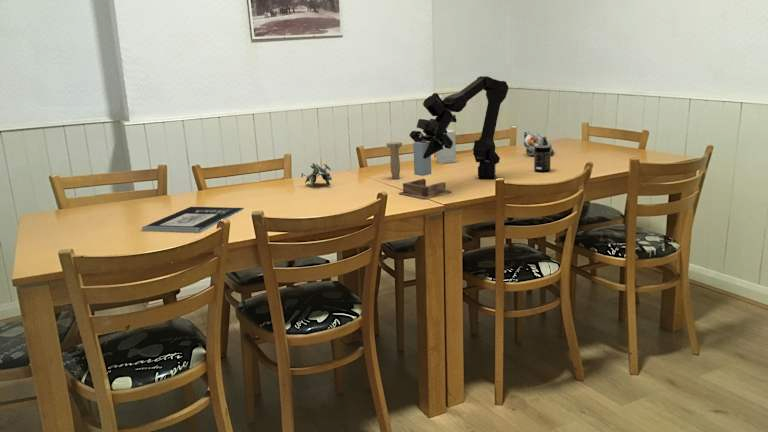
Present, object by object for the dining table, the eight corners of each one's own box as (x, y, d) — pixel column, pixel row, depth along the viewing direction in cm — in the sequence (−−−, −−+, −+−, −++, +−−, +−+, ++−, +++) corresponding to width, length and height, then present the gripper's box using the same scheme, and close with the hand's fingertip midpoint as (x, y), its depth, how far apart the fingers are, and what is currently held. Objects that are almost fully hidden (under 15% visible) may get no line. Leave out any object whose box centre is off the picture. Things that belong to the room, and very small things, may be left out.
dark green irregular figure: (328, 197, 264) (339, 176, 257) (305, 197, 257) (315, 175, 251) (318, 179, 270) (329, 157, 263) (296, 178, 264) (305, 156, 257)
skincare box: (452, 160, 303) (451, 129, 299) (456, 162, 297) (456, 130, 294) (435, 162, 301) (434, 130, 298) (439, 164, 296) (438, 132, 292)
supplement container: (552, 170, 270) (553, 145, 267) (547, 173, 264) (547, 148, 262) (537, 169, 273) (537, 145, 271) (531, 172, 268) (531, 147, 265)
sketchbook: (244, 211, 228) (243, 205, 227) (199, 235, 200) (198, 228, 199) (191, 209, 233) (190, 204, 233) (140, 232, 205) (139, 226, 205)
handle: (404, 178, 267) (403, 143, 263) (390, 180, 265) (389, 144, 261) (400, 176, 272) (399, 141, 268) (386, 178, 270) (385, 143, 266)
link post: (423, 172, 242) (422, 140, 238) (431, 174, 238) (430, 141, 235) (414, 174, 239) (413, 142, 236) (422, 176, 235) (421, 143, 232)
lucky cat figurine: (558, 156, 301) (551, 132, 293) (535, 167, 302) (527, 143, 294) (546, 142, 313) (538, 119, 306) (523, 153, 314) (515, 130, 307)
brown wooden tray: (425, 187, 248) (424, 177, 247) (451, 192, 238) (451, 182, 237) (398, 194, 239) (398, 183, 238) (424, 199, 229) (424, 188, 228)
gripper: (412, 109, 242) (391, 142, 238) (446, 111, 228) (424, 146, 224) (428, 127, 249) (407, 159, 245) (462, 131, 234) (441, 165, 231)
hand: (419, 157), depth 236 cm, fingers closed on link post, 4 cm apart
